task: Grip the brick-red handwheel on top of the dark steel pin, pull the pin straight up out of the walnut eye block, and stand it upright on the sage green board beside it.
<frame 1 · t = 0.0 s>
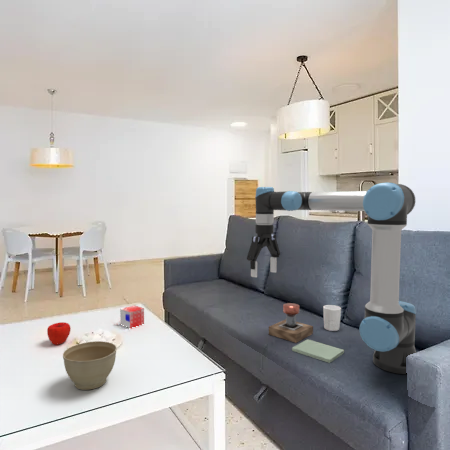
hand: (264, 274, 152), 28 cm above the table, tool pointing down, fingers open, 13 cm apart
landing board: (317, 351, 141), on the table
apple: (59, 343, 149), on the table
planter bowl: (91, 383, 116), on the table
eye block: (290, 334, 160), on the table
white cup: (331, 329, 167), on the table
puzzle cube: (132, 325, 172), on the table
steel pin: (291, 319, 159), in the eye block
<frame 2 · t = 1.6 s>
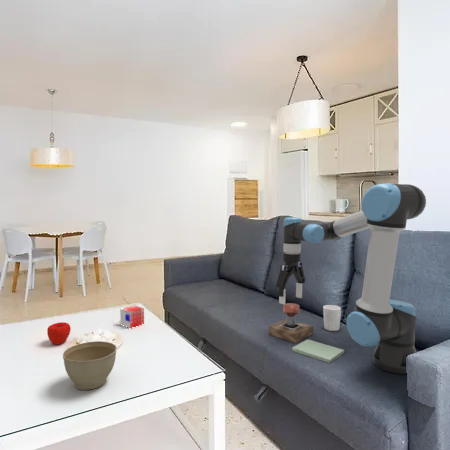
hand: (290, 300, 159), 15 cm above the table, tool pointing down, fingers open, 13 cm apart
nothing on the table moved.
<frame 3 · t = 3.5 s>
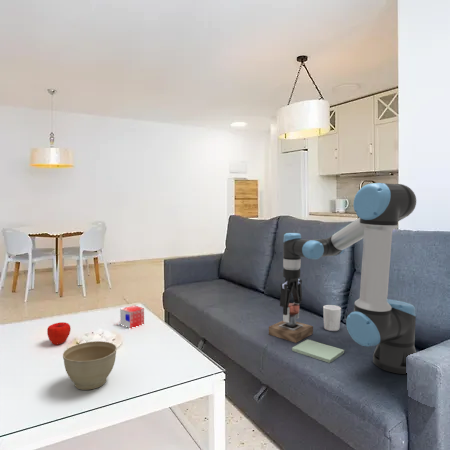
hand: (291, 319, 159), 7 cm above the table, tool pointing down, fingers closed on steel pin, 7 cm apart
steel pin: (291, 319, 159), in the eye block, touching gripper
everything else where it was.
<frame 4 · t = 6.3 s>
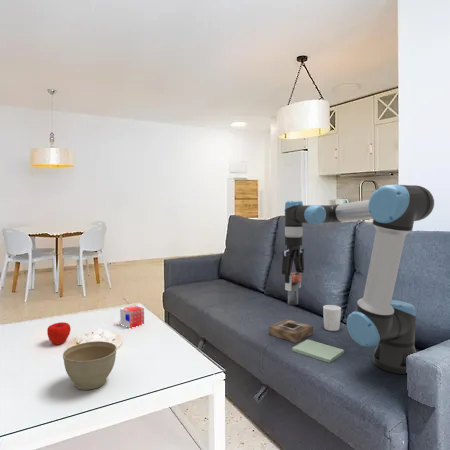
hand: (293, 288, 157), 21 cm above the table, tool pointing down, fingers closed on steel pin, 7 cm apart
steel pin: (293, 288, 157), point 21 cm above the table, touching gripper
everything else where it was.
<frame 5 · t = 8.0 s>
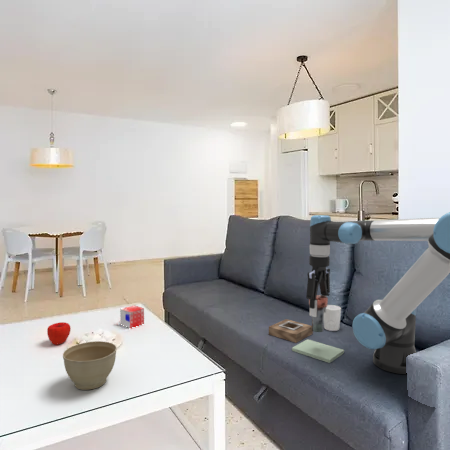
hand: (317, 313, 140), 15 cm above the table, tool pointing down, fingers closed on steel pin, 7 cm apart
steel pin: (317, 313, 140), point 15 cm above the table, touching gripper
everything else where it was.
when the fingers open (9 cm above the table, at t = 9.3 s): steel pin drops 1 cm, resting on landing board.
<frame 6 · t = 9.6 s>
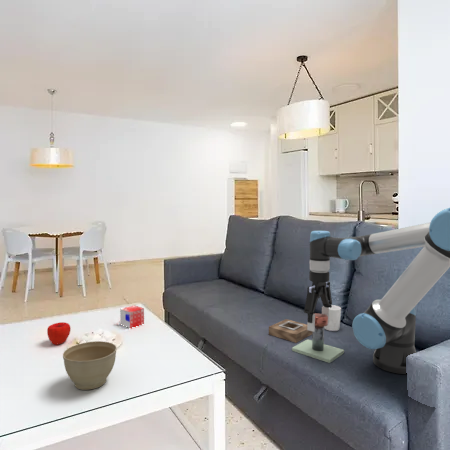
hand: (318, 326, 140), 10 cm above the table, tool pointing down, fingers open, 10 cm apart
steel pin: (318, 332, 140), on the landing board, point 8 cm above the table
everything else where it was.
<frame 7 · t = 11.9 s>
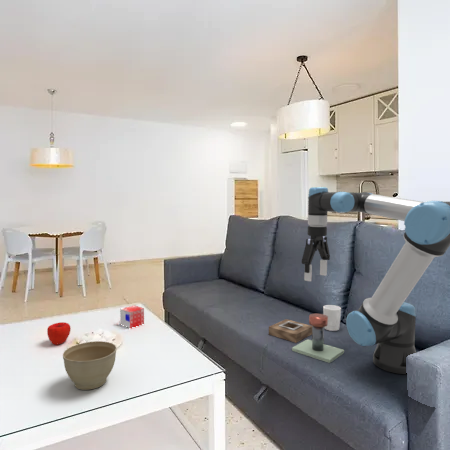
hand: (315, 278, 146), 28 cm above the table, tool pointing down, fingers open, 13 cm apart
nothing on the table moved.
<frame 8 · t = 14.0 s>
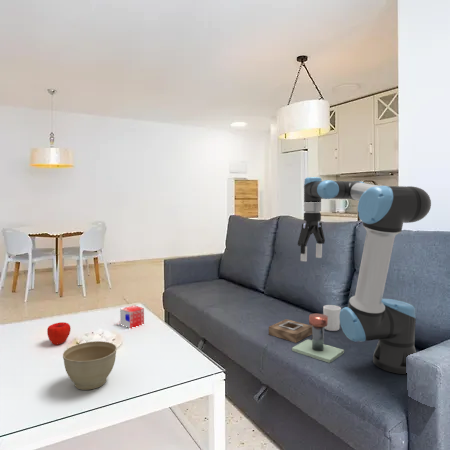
hand: (311, 259, 162), 33 cm above the table, tool pointing down, fingers open, 13 cm apart
nothing on the table moved.
at the end: steel pin inside the target area on the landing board (0.1 cm from its centre), point 7.7 cm above the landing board's base; steel pin tilted 0°; steel pin touching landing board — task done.
